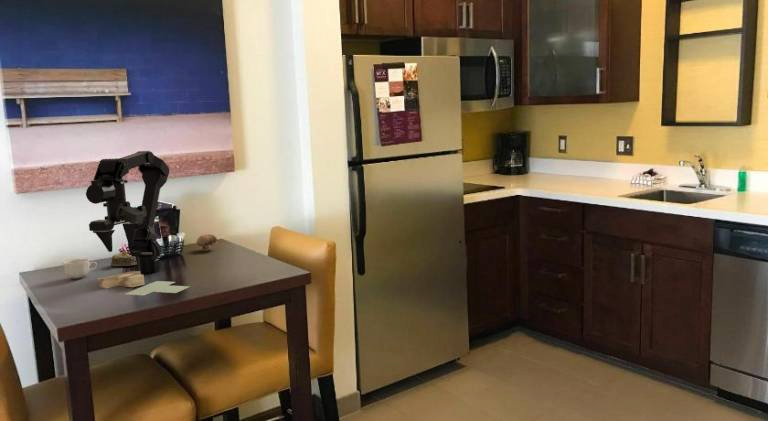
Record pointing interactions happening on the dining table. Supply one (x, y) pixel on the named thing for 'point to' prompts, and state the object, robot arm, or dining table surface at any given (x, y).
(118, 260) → the cake
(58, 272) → the dining table surface
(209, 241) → the mushroom
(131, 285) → the t block
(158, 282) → the pad
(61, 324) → the dining table surface
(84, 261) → the teacup
